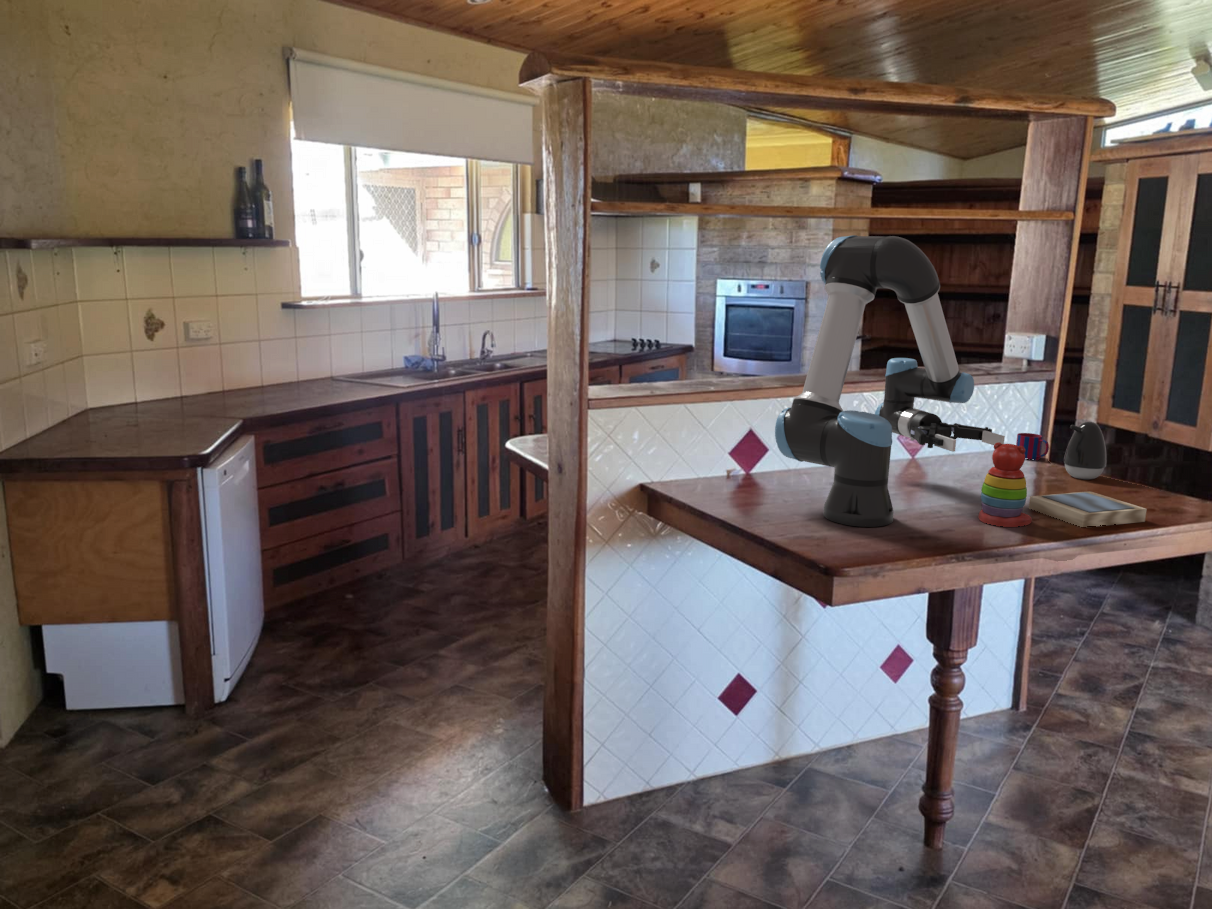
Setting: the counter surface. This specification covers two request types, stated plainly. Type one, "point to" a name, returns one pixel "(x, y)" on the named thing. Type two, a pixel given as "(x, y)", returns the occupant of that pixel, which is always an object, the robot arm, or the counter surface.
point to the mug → (1031, 445)
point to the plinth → (1087, 509)
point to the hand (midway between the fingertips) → (978, 443)
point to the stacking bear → (1005, 488)
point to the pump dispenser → (1086, 452)
